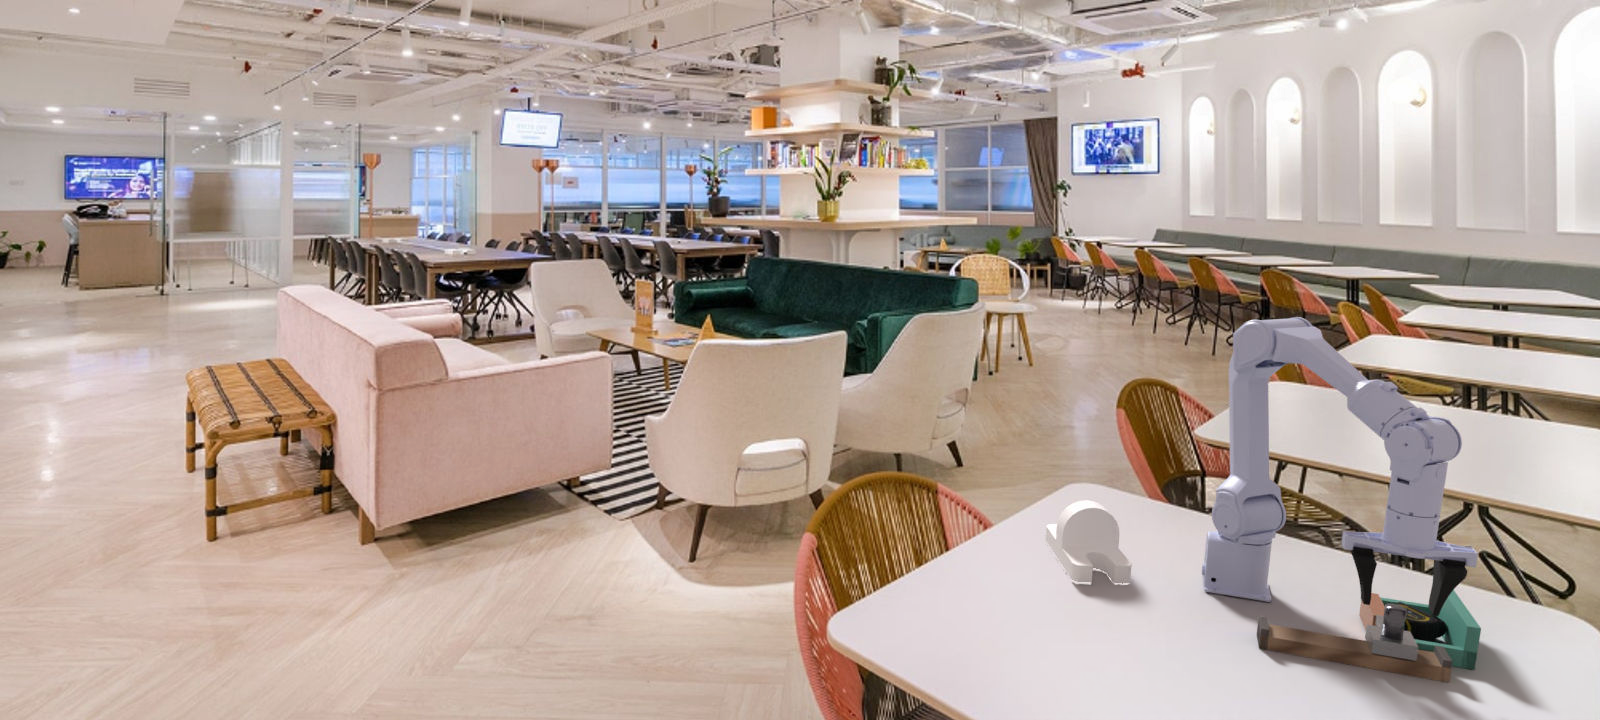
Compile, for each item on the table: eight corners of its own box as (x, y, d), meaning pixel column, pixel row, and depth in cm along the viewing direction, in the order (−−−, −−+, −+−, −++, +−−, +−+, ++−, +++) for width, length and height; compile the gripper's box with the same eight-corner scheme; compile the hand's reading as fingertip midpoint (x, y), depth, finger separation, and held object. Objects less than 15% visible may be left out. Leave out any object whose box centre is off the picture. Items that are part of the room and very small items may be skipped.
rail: (1259, 648, 121) (1261, 628, 120) (1256, 635, 125) (1258, 615, 124) (1449, 682, 113) (1452, 661, 112) (1440, 667, 116) (1443, 646, 116)
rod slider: (1369, 666, 116) (1377, 611, 114) (1347, 613, 130) (1353, 564, 129) (1414, 674, 114) (1422, 618, 112) (1386, 619, 128) (1393, 569, 127)
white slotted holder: (1096, 543, 158) (1100, 486, 156) (1132, 586, 141) (1137, 523, 139) (1043, 542, 159) (1047, 486, 156) (1072, 586, 141) (1077, 523, 139)
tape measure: (1447, 642, 123) (1451, 618, 122) (1415, 652, 120) (1419, 627, 120) (1398, 621, 129) (1402, 597, 129) (1367, 629, 127) (1370, 605, 126)
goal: (1386, 654, 119) (1391, 614, 118) (1365, 610, 132) (1370, 573, 131) (1474, 670, 116) (1481, 628, 114) (1444, 623, 128) (1450, 585, 127)
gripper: (1353, 512, 112) (1341, 609, 114) (1491, 529, 106) (1474, 631, 109) (1344, 494, 118) (1332, 587, 121) (1473, 510, 113) (1458, 607, 115)
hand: (1398, 606), depth 115 cm, fingers open, 7 cm apart
